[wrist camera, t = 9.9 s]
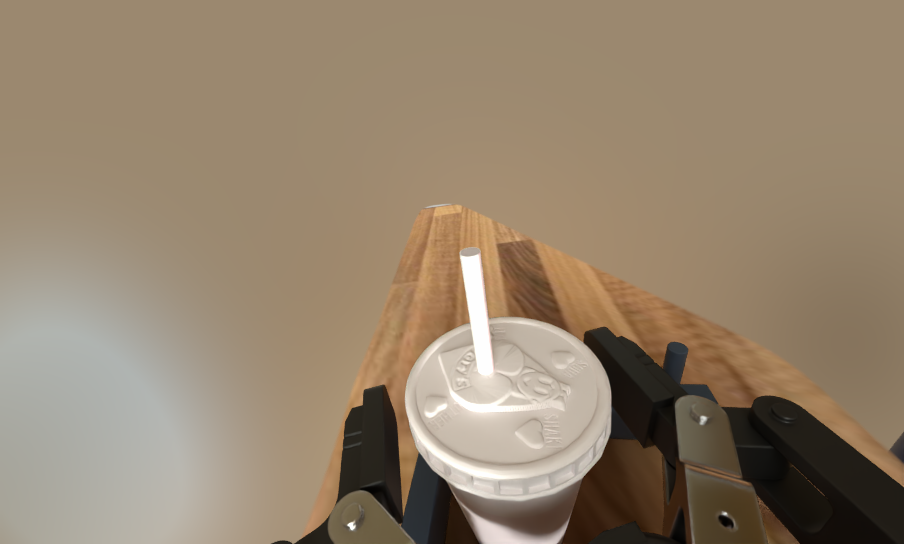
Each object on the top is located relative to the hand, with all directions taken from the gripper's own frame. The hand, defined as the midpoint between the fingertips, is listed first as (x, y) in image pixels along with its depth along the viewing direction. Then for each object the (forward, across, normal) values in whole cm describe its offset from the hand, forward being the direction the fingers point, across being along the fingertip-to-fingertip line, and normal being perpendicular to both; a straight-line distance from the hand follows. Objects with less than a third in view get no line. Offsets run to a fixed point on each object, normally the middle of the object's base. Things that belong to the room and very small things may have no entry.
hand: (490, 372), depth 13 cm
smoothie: (-2, 0, -8) cm, 8 cm away
